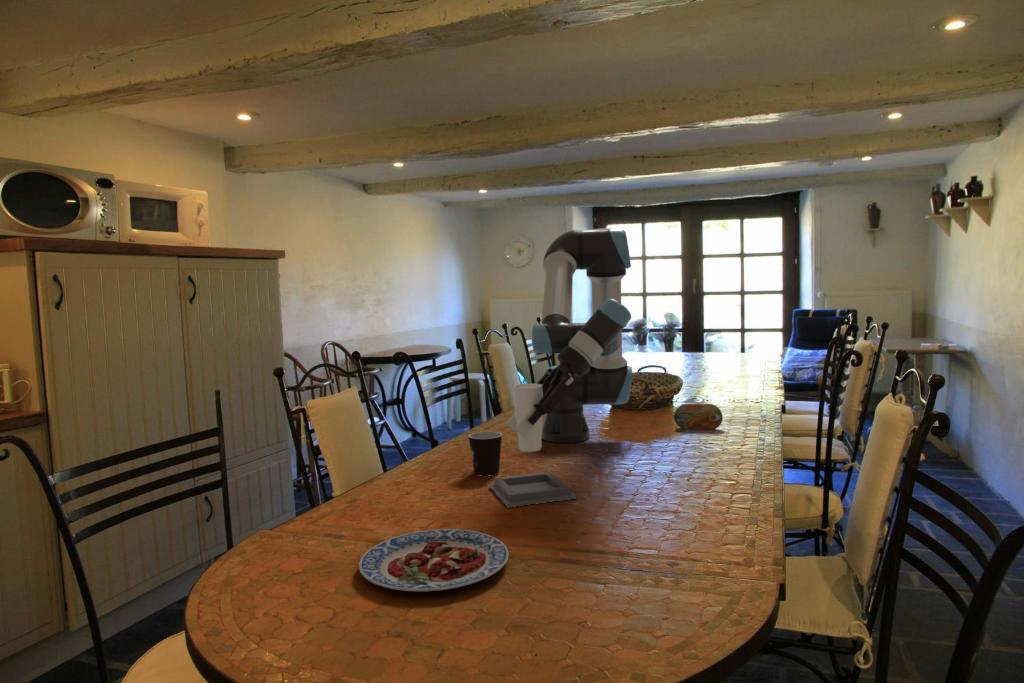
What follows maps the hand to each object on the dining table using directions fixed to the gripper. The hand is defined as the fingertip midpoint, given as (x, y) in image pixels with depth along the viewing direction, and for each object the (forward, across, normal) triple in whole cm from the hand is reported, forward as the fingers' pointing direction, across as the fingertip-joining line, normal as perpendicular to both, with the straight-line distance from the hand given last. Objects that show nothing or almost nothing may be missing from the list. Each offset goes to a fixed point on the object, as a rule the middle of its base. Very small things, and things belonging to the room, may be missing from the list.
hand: (514, 430), depth 154 cm
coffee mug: (+12, +22, -10) cm, 27 cm away
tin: (-42, +44, -63) cm, 88 cm away
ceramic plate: (+29, -33, +6) cm, 44 cm away
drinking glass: (+1, 0, -6) cm, 6 cm away
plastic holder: (+8, 0, -13) cm, 16 cm away
